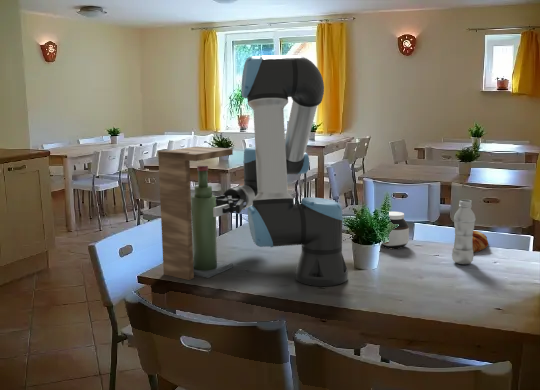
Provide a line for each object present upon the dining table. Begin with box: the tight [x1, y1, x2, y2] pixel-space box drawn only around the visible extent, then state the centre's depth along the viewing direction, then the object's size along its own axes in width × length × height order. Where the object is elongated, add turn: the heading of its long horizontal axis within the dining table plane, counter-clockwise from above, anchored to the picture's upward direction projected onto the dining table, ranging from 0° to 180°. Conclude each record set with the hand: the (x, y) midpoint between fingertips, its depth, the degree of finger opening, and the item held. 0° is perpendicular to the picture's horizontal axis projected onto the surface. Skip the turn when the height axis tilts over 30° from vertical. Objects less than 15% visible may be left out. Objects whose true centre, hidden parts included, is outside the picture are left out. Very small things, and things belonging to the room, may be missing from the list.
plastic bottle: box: [451, 199, 476, 265], centre depth 183 cm, size 6×7×20 cm
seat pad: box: [193, 262, 234, 279], centre depth 182 cm, size 12×13×1 cm
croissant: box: [472, 230, 489, 253], centre depth 202 cm, size 21×10×8 cm, turn 140°
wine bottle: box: [191, 165, 218, 270], centre depth 180 cm, size 7×7×31 cm
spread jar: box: [380, 211, 410, 250], centre depth 204 cm, size 12×11×12 cm
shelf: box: [157, 146, 234, 281], centre depth 177 cm, size 17×14×37 cm
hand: (196, 210), depth 176 cm, fingers open, 13 cm apart
